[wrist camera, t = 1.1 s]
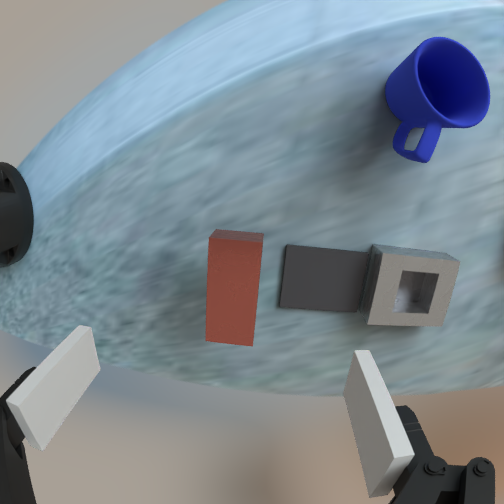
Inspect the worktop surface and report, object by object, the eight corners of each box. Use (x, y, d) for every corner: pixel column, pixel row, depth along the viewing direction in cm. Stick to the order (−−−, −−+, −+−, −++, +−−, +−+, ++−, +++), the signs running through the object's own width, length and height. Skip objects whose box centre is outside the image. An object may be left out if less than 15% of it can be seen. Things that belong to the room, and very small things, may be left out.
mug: (351, 141, 30) (383, 133, 21) (389, 51, 27) (427, 19, 17) (414, 177, 31) (462, 186, 21) (448, 90, 27) (498, 73, 18)
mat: (279, 304, 36) (279, 306, 35) (286, 244, 34) (287, 245, 33) (355, 310, 35) (356, 312, 35) (367, 252, 33) (368, 254, 33)
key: (222, 294, 36) (205, 340, 26) (227, 215, 33) (208, 237, 24) (257, 298, 36) (252, 346, 26) (265, 218, 33) (262, 242, 23)
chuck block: (359, 310, 35) (367, 324, 32) (372, 244, 33) (383, 253, 30) (430, 313, 35) (441, 326, 32) (445, 252, 33) (460, 261, 29)
